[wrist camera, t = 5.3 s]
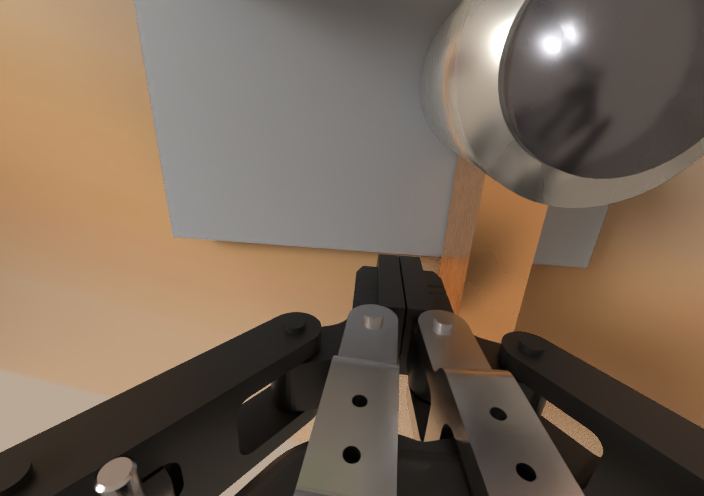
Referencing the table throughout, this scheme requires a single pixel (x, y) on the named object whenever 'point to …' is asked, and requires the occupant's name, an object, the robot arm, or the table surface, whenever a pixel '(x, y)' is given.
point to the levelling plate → (311, 127)
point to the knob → (553, 126)
